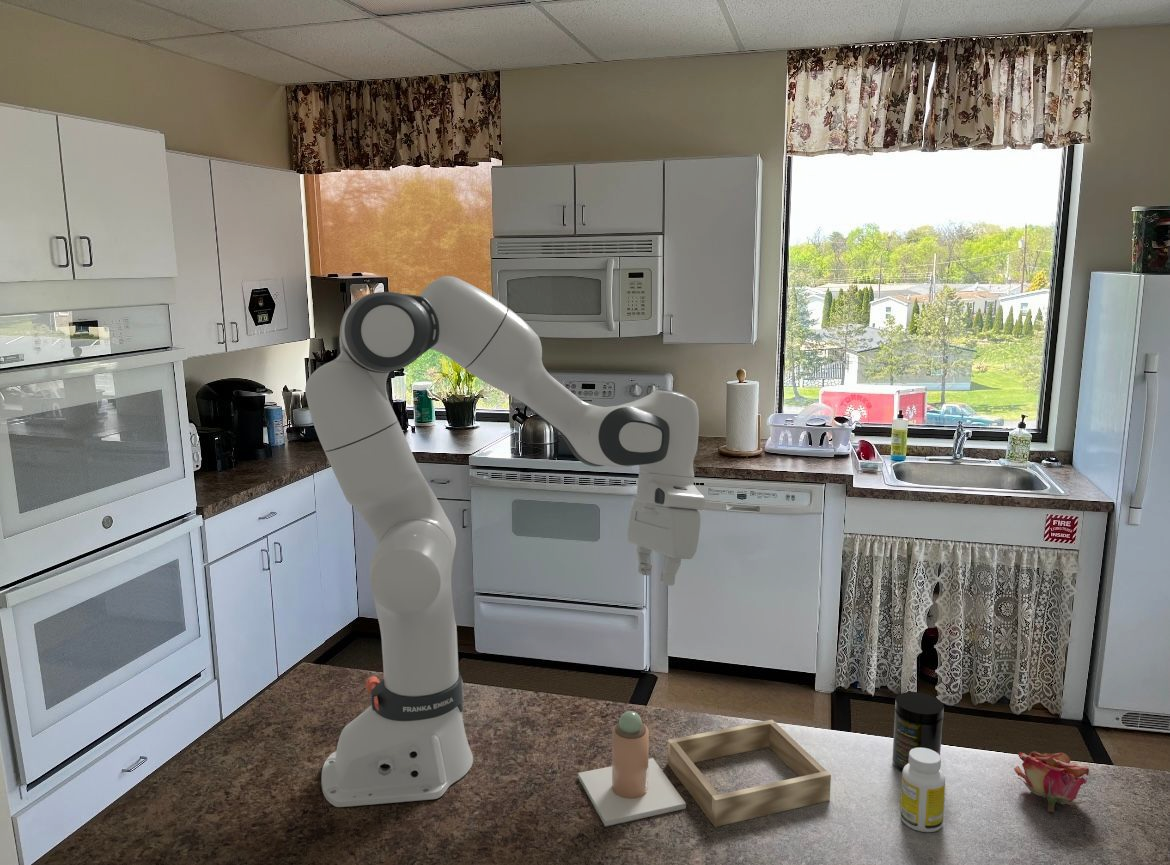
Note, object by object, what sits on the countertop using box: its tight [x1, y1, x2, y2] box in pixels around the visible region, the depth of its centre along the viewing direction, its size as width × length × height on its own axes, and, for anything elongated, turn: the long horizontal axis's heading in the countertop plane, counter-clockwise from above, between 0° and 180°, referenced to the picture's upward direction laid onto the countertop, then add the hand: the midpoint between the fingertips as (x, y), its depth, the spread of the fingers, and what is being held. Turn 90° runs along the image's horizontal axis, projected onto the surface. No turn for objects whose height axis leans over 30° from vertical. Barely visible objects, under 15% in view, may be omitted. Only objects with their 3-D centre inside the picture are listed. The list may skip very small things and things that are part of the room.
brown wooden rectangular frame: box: [667, 719, 832, 828], centre depth 125 cm, size 18×16×4 cm
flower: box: [1013, 750, 1091, 814], centre depth 119 cm, size 10×9×8 cm
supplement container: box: [892, 691, 945, 773], centre depth 128 cm, size 7×7×10 cm
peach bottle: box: [611, 710, 650, 799], centre depth 122 cm, size 5×5×12 cm
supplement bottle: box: [899, 748, 946, 833], centre depth 115 cm, size 5×5×10 cm
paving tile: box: [577, 757, 687, 827], centre depth 123 cm, size 12×12×1 cm
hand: (655, 579), depth 135 cm, fingers open, 8 cm apart
